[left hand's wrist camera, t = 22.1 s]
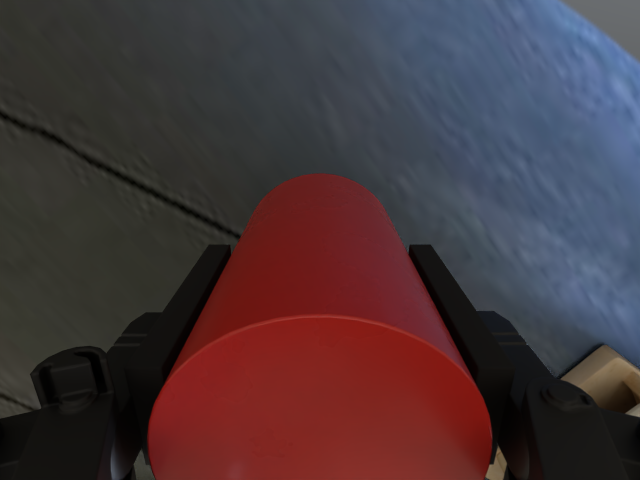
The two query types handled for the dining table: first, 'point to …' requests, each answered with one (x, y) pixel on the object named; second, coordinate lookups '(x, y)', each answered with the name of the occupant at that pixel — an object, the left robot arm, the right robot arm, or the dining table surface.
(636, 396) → the pounding bench toy
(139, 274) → the dining table surface
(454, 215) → the dining table surface
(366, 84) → the dining table surface
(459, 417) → the red cylinder
